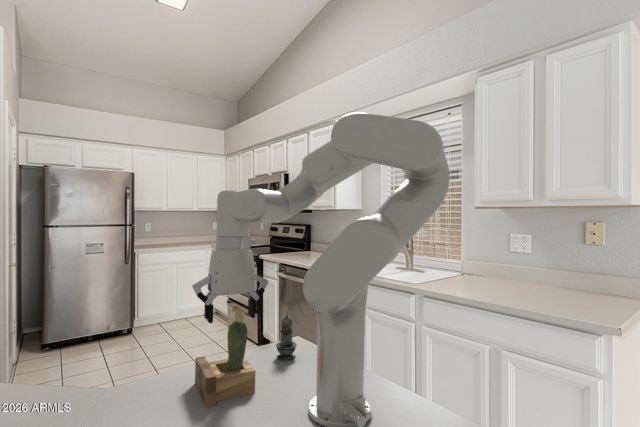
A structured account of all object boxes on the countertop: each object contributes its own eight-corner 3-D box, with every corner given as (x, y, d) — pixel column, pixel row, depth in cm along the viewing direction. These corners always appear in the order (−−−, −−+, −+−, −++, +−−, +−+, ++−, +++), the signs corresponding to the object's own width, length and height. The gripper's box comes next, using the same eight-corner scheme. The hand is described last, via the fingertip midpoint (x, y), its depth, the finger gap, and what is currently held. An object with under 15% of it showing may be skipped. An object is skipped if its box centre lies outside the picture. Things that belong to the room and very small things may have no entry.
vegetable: (242, 384, 83) (254, 304, 80) (235, 396, 79) (248, 312, 76) (224, 380, 83) (235, 300, 80) (216, 391, 79) (228, 307, 76)
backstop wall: (215, 405, 74) (216, 376, 74) (205, 407, 73) (206, 378, 73) (203, 381, 84) (204, 356, 84) (194, 383, 83) (195, 357, 83)
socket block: (254, 392, 79) (255, 370, 79) (214, 402, 75) (214, 378, 75) (242, 376, 87) (243, 356, 87) (205, 384, 83) (205, 362, 83)
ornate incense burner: (282, 352, 104) (283, 311, 104) (300, 355, 101) (301, 313, 101) (271, 359, 99) (272, 315, 99) (289, 363, 96) (290, 318, 96)
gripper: (262, 242, 89) (261, 311, 89) (190, 243, 81) (188, 319, 80) (274, 244, 83) (272, 318, 82) (197, 246, 74) (194, 328, 74)
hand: (231, 319), depth 81 cm, fingers open, 9 cm apart
